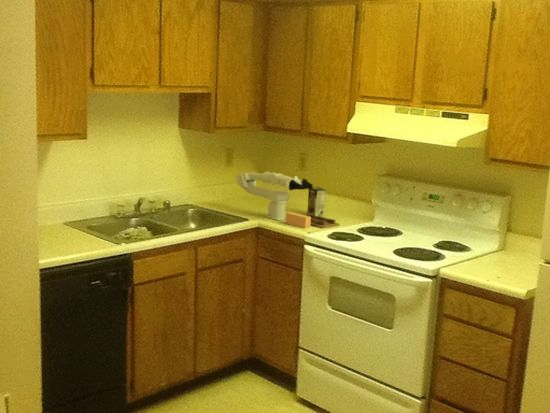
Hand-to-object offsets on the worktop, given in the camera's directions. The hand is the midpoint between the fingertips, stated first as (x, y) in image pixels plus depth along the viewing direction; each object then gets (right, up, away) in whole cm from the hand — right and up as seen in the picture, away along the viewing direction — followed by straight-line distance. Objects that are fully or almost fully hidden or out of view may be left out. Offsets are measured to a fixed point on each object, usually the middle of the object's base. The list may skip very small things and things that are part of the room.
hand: (307, 187), depth 372 cm
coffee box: (+6, -16, +30) cm, 35 cm away
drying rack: (+5, -19, +11) cm, 22 cm away
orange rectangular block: (-5, -20, +2) cm, 21 cm away
